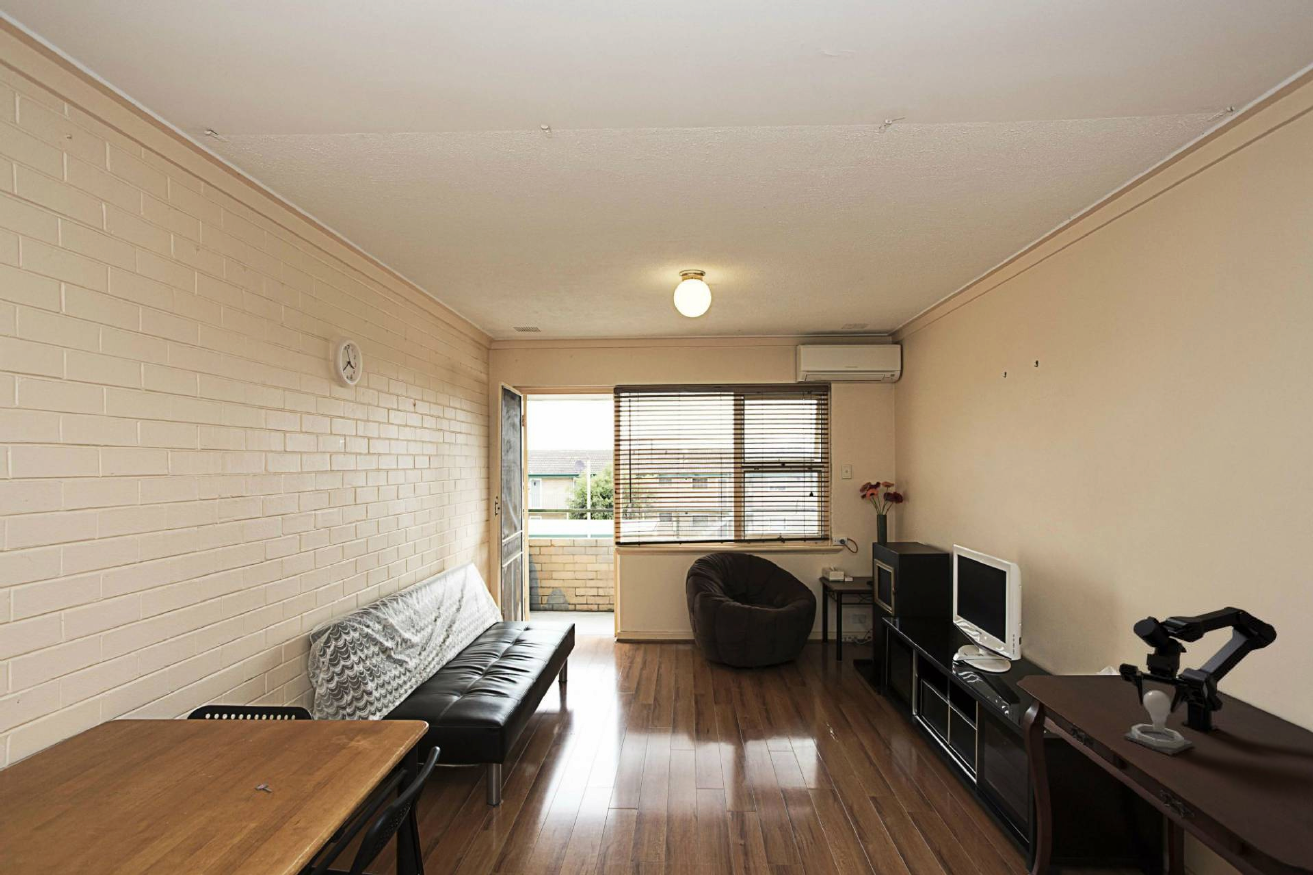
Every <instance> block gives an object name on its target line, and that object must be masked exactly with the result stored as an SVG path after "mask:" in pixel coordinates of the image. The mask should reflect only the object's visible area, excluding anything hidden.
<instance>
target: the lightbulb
mask: <svg viewBox="0 0 1313 875" xmlns="http://www.w3.org/2000/svg"><path fill="white" fill-rule="evenodd" d="M1172 702H1173V700H1172V699H1171V697H1170V696H1168V695H1167V694H1166V693H1165V692H1163V691H1161V690H1154V689H1153V690H1149V691H1148V692H1147V691H1146V692H1145V695H1144V697H1143V706H1144V708H1145V709H1146V711H1147V712H1148V713H1149V716H1150V719H1151V720H1152V725H1153V729H1154V730H1155V731H1157V732H1158V733H1162V732H1165V728H1166V722H1167V718H1168V716H1169V714H1171V705H1172Z"/></svg>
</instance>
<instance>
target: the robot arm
mask: <svg viewBox="0 0 1313 875" xmlns="http://www.w3.org/2000/svg"><path fill="white" fill-rule="evenodd" d="M1228 627H1232V630H1231V631H1232V633H1231V634H1232V635H1231V636H1232V637H1231V638H1230V639H1229V641H1227V642H1226V643H1225V644H1224V645H1223V646H1222V647H1221V648H1220V649H1219V650H1218V651H1217V652H1216V653H1214V655H1212V656H1211V657H1210V658H1209V659H1208V660H1207V661H1206V662H1205V663H1204V664H1203V665H1202V666H1200V667H1199V668H1198V669H1193V668H1191V667H1186V668H1184V669H1183V670H1182V672H1181V673H1179V674H1178V672H1179V670H1180V668H1181V654H1186V653H1188V651H1187V648H1186V647H1185V646H1184V645H1183V643H1182V642H1179V640H1180V641H1183V642H1186V643H1188V644H1189V643H1194V642H1197V641H1199V640H1200V639H1202V638H1204V635H1205V634H1206V633H1208V632H1209V633H1210V632H1213V631H1217V630H1219V629H1220V630H1221V629H1224V628H1225V629H1226V628H1228ZM1132 630H1133V633H1134V635H1136V636H1137V637H1138V638H1139V639H1141V640H1142V641H1143V642H1144V643H1145V644H1146V645H1147V646H1148V647H1150V648H1153V649H1154V652H1153V653H1147V654H1146V660H1145V661H1146V662H1145V665H1146V666H1147V668H1146V669H1147V671H1148V672H1149V673H1148V672H1144V671H1142V670H1140V669H1139V667H1138V665H1133V664H1129V663H1126V662H1125V663H1123V662H1122V663H1121V664H1119V667H1118V672H1119V674H1120V677H1121V678H1122V681H1124V682H1128V683H1132V685H1133V686H1134V687H1136V689H1137V694H1138V700H1139V703H1140V706H1144V704H1143V697H1144V695H1145V694H1146V692H1147V690H1146V689H1147V686H1146V683H1145V681H1150V682H1153V683H1157V684H1163V685H1167V686H1171V687H1174V690H1175V693H1174V695H1173V698H1172V705H1171V712H1170V714H1174V713H1175V712H1176V711H1177V710H1178V709H1179V708H1180V707H1181V706H1182V704H1184V703H1186V719H1185V720H1183V721H1181V722H1180V724H1181V725H1183V726H1185V727H1190V728H1192V729H1195V730H1198V731H1201V732H1203V733H1210V732H1212V731H1216V730H1217V729H1219V725H1217V724H1216V725H1215V724H1213V723H1214V720H1213V719H1214V716H1213V714H1214V712H1218V711H1221V710H1222V707H1223V701H1222V700H1221V699H1220V698H1219V697H1218V696H1217V694H1218V684H1219V682H1220V681H1221V680H1223V678H1224V677H1226V676H1227V675H1228V673H1230V672H1231V671H1232V670H1233V669H1234V668H1235V667H1236V666H1237V665H1238V664H1240V662H1241V661H1242V660H1243V659H1244V658H1246V657H1247V656H1248V655H1249V654H1250V653H1251V652H1253V651H1256V650H1261V649H1265V648H1266V647H1268V646H1270V645H1271V644H1272V643H1274V642H1275V640H1276V639H1277V637H1278V633H1277V631H1276V628H1275V627H1274V626H1273V625H1272V624H1270V623H1267V622H1265V621H1263V620H1261V619H1259V618H1258V617H1255V616H1254V615H1252V614H1251V613H1249V612H1248V611H1246V610H1245V609H1242V608H1238V607H1233V606H1226V607H1223V608H1221V609H1218V610H1213V611H1210V612H1207V613H1202V614H1200V615H1199V614H1198V615H1195V616H1182V615H1177V616H1169V617H1167V618H1166V619H1165V620H1163V621H1159V619H1157V618H1156V617H1153V616H1150V615H1149V616H1148V617H1147V618H1145V619H1141V620H1139V621H1137V622H1136V623H1134V625H1133V628H1132Z"/></svg>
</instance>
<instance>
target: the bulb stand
mask: <svg viewBox="0 0 1313 875" xmlns="http://www.w3.org/2000/svg"><path fill="white" fill-rule="evenodd" d="M1124 738H1126V739H1125V740H1127V739H1128V740H1127V741H1130V740H1132V741H1134V742H1133V743H1135V742H1137V743H1136V744H1138V743H1139V744H1138V745H1140V744H1142V745H1141V746H1143V745H1145V746H1144V747H1146V746H1147V747H1146V748H1149V747H1150V748H1149V749H1152V750H1154V749H1156V750H1155V751H1157V750H1158V751H1157V752H1159V751H1161V752H1160V753H1162V752H1164V753H1163V754H1165V753H1167V754H1169V755H1168V756H1172V754H1173V753H1175V754H1178V753H1179V751H1180V752H1181V751H1184V750H1186V749H1188V748H1191V747H1193V742H1192V741H1190V740H1188V739H1186V738H1184V737H1183V736H1182V735H1181V734H1180V733H1179V732H1178V731H1176V730H1173V729H1170V728H1167V727H1165V732H1162V733H1158V732H1157V731H1155V730H1154V729H1153V724H1146V723H1138V724H1135V725H1134V726H1131V731H1130V732H1127V733H1125V734H1123V739H1124ZM1132 741H1131V742H1132ZM1167 754H1166V755H1167ZM1173 755H1174V754H1173Z"/></svg>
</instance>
